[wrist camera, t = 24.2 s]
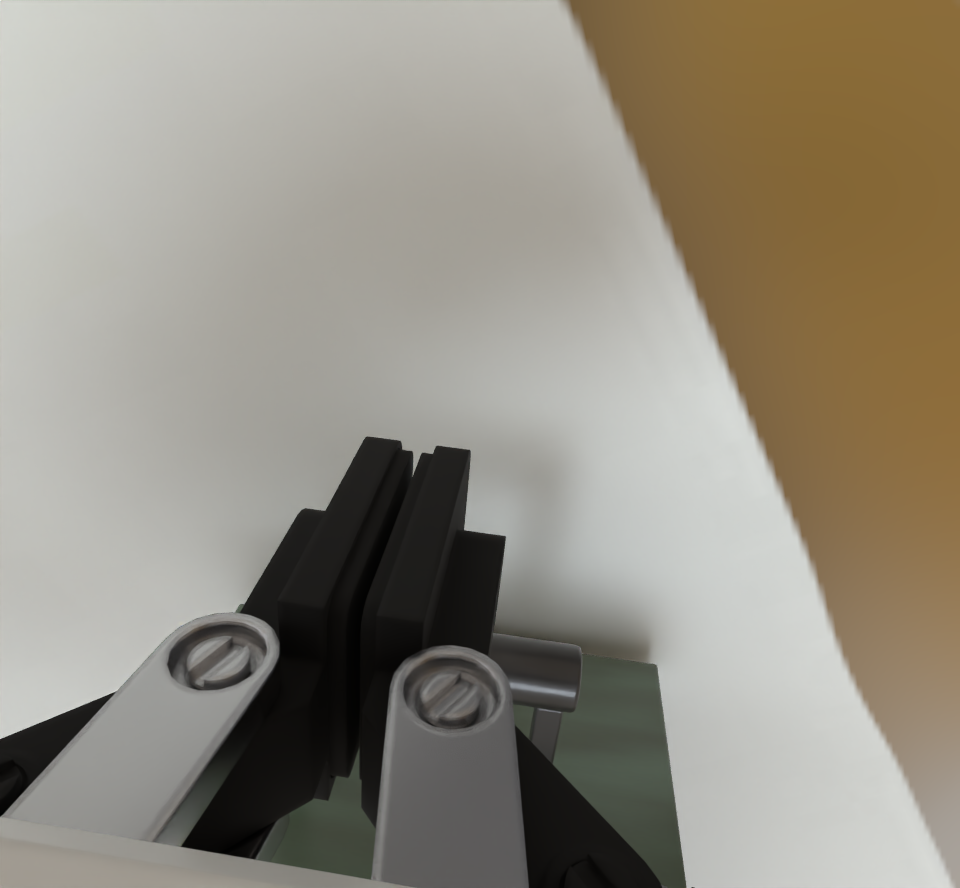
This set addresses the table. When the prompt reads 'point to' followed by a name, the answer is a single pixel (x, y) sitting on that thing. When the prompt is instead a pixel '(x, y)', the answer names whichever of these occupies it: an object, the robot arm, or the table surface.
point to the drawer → (561, 739)
